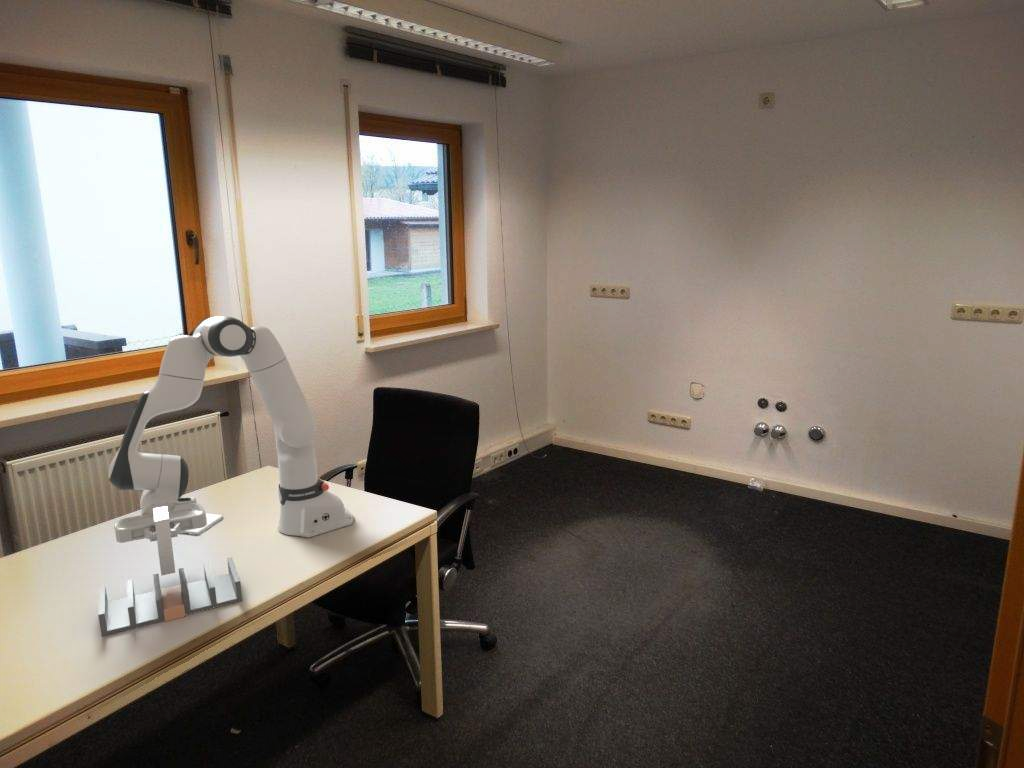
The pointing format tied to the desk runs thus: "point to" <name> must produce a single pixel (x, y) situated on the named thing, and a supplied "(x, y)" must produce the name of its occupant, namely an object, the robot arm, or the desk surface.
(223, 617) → the desk surface
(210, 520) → the external hard drive
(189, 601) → the rack
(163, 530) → the panel
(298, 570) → the desk surface
